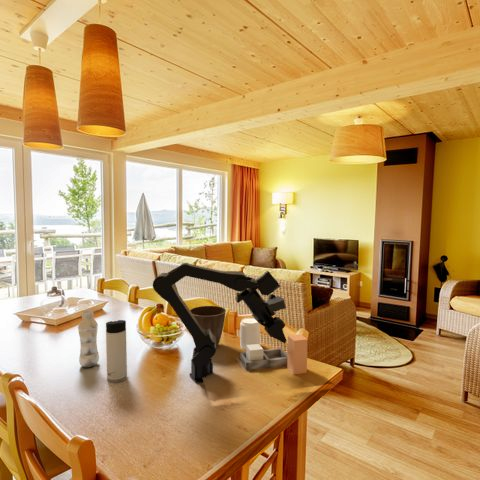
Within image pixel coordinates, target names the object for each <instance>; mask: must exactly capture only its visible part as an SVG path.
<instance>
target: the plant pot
mask: <svg viewBox="0 0 480 480" xmlns="http://www.w3.org/2000/svg"><path fill="white" fill-rule="evenodd" d="M189 310H190V311H191V313H192V314H193V315H194V317H195V318H196V320H197V321H198V323H199V324H200V326H201V327H202V328H203V329H205V330H208V329H210V330H211V333H212V334H213V335H214V336H215V337H216V349H217V348H218V347H219V343H220V341H221V338H222V334H223V330H224V325H225V320H226V314H227V313H226V312H227V311H226V309H225V308H224V307H222V306H218V305H217V306H216V305H202V306H195V307H193V308H191V309H189Z"/></svg>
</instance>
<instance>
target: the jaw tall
mask: <svg viewBox="0 0 480 480" xmlns="http://www.w3.org/2000/svg"><path fill="white" fill-rule="evenodd" d="M287 354H288V359H287V369H288V371H289V372H291V374H292V375H302V374H306V373H307V371H308V339H307V338H306V337H305V336H304V335H303V334H302V333H300V334H299V333H298V334H290V335H289V334H288V335H287ZM307 374H308V373H307Z"/></svg>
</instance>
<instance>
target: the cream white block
mask: <svg viewBox="0 0 480 480" xmlns="http://www.w3.org/2000/svg"><path fill="white" fill-rule="evenodd" d="M263 350H264V348H263V347H262V345H261V344H260V345H259V344H252V345H246V350H245V352H246V359H247V361H257V360H263Z"/></svg>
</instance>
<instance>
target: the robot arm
mask: <svg viewBox="0 0 480 480" xmlns="http://www.w3.org/2000/svg"><path fill="white" fill-rule="evenodd" d="M185 277H189V278H194V279H198V280H203V281H208V282H210V283H211V282H212V283H217V284H220V285H222V286H225V287H226V288H228V289H230V290H232V291H233V290H234V291H235V292H236V295H235V301H236V303H237V304H238V303H240V302H241V301H243V303H244V304H245V306H247V308H248V310H249V312H250V313H252V314H251V316H252V318H255V320H256V321H257V322H258V323H259V324H260V326H262V327H264V331H265V332H266V333H267V334H268V335H269V337H270V338H274V339H275V340H277V341H279V342H281V343H283V344H285V343H288V339H287V338H286V336H285V333H284V328H285V327H286V323H285V322H284V320H283V319H281V318H280V317H279V316H275V315H276V312H278V311H281V310H285V309H287V306H286V302H285V299H284V298H283V297H281V296H279V295H277V296H276V295H275V294H274V292H275V291H277V290H278V289H279V288H280V287H281V285H280V283H279V281H278V280H277V279H276V278H275V277H274V276H273V275H272V274H271V272H270V271H269V270H266V271H265V272H264V273H263V274H262V275H261V276H259V277H258V278H257V279H255V278H253V277H250V276H247V275H246V273H245V272H242V271H237V270H235V271H234V270H226V271H224V270H219V269H214V268H208V267H204V266H200V265H195V264H191V263H189V262H182V263H181V264H180V265H179V266H177V267H175V268H173V269H172V270H169V271H168V272H161V273H159V274H158V275H157V276H156V278H154V280H153V282H152V288H153V291H155V293H156V294H157V295H159V297H160V298H162V299H163V300H164V301H166V302H167V303H168V304H169V305H170V307H171V308H172V309H173V311H174V312H175V314H176V315H177V317H178V318H179V320H180V321H181V322H182V325H184V327H185V328H186V329H187V331H188V332H189V334H190V335H191V338H192V339H193V343H194V345H195V347H194V348H193V351H192V357H191V360H190V363H191V364H190V368H191V369H190V373H189V377H190V378H191V379H192V381H194V382H195V384H199V383H202V382H204V378H208V377H209V376H210V375H212V374H213V373H214V363H213V359H212V358H213V357H214V356H215V354H216V352H217V348H216V337H215V336H214V335H213V334H212V333H211V330H210V329H208V330H205V329H203V328H202V327H201V326H200V324H199V323H198V321H197V320H196V318H195V317H194V315H193V314H192V313H191V311H190V310H191V309H190V308H189V306H188V305H187V304H186V303H185V301H184V299H183V298H182V296H180V293H179V290H178V288H177V285H176V284H177V283H178V282H179V281H181V280H182V279H183V278H185ZM258 291H259V292H258ZM261 295H262V296H267V297H268V299H267V300H265V299H264V298H263V297H262V296H261Z"/></svg>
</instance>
